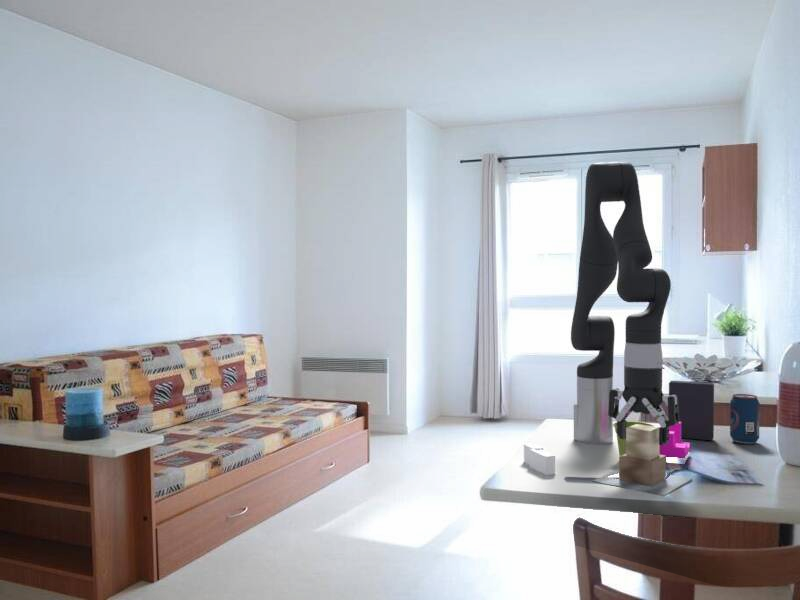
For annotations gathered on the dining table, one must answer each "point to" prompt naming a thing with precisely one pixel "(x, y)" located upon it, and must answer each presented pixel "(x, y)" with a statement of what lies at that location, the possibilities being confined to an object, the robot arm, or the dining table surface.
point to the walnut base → (653, 490)
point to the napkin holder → (539, 459)
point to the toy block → (675, 444)
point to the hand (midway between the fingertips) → (642, 441)
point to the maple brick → (642, 442)
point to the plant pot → (623, 441)
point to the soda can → (744, 418)
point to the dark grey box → (695, 408)
